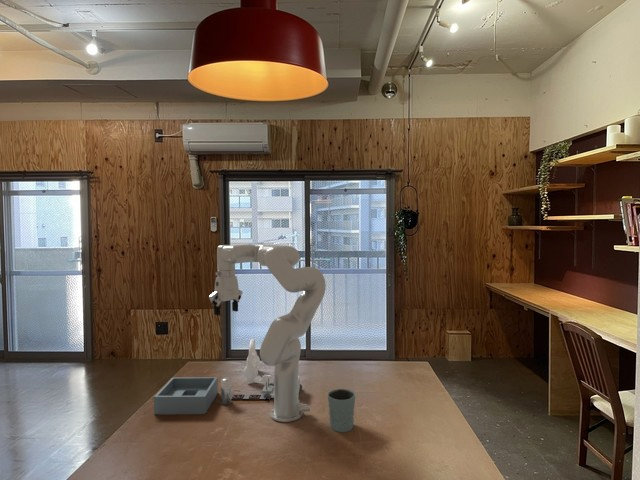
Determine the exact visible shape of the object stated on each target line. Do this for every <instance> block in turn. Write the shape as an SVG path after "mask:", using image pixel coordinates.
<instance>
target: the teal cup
mask: <svg viewBox="0 0 640 480" xmlns="http://www.w3.org/2000/svg"><path fill="white" fill-rule="evenodd" d="M327 399H328V408H329V410H328V412H329V413H328V414H329V427H330V429H331V430H333V431H335V432H337V433H347V432H351V431H352V430H353V428H354V422H355V420H354V419H355V418H354V415H355V413H354V412H355V404H356V403H355V402H356V393H355V392H354V391H352V390H351V389H345V388H337V389H332V390H329V392H328V393H327Z"/></svg>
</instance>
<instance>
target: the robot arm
mask: <svg viewBox="0 0 640 480" xmlns="http://www.w3.org/2000/svg"><path fill="white" fill-rule="evenodd" d="M216 248H217V249H216V265H217V266H216V269H217V270H216V271H215V276H217V277H215V282H214V292H212V293H211V294H210V295H209V296H208V299H209V300H210V301H209V302H210V303H211V304H212V306H213V314H214V315H215V316H218V317H219V316H221V306H220V305H221V303H222V302H227V301H229V302H230V301H232V303H231V304H232V305H231V307H232V309H231V310H232V312H236V313H237V312H239V302H240V300H241V298H242V295H243V293H244V292H243V290H240V289H239V282H238V277H237V276H236V264H242V263H244V264H245V263H259V265H260V266H262V267H266V268H267V269H268V270H269V272H270V273H271V275H272V276H273V277H274V278H275V279H276V280H277V282H278V283H279V285H280V286H281V287H282V288H283V289H284V290H285V291H287V292H289V293H295V294H296V293H300V292H301V293H300V295H299V296H298V297H297V299H296V301H295V302H294V305H293V307H292V309H291V310H290V312H289V313H287V314H283V315H281V316H278V317H276V318H275V319H274V320H273V321H272V322H271V324H270V325H269V328H268V330H267V332H266V334H265V336H264V337H263V340H262V342H261V345H260V348H259V358H260V361H261V362H262V363H263V364H264V365H266V366H268V367H270V366H271V367H274V369H273V384H274V398H273V400H274V401H273V403H274V404H273V405H274V406H273V408H272V409H271V410H270V412H269V415H270V418H271V419H272V420H274V421H276V422H279V423H281V422H282V423H290V422H295V421H297V420H299V419H300V418H301V417H302V416H303V412H311V406H310V405H308V403H304V404H303V403H300V401H301V400H300V399H299V396H300V393H299V392H300V390H299V384H298V376H300V375H299V367H300V365H299V364H300V356H301V350H302V349H301V348H302V345H301V341H300V338H301V337H302V336H304V335H305V334H306V333H307V331H308V329H309V327H310V325H311V323H312V320H314V317H315V314H316V313H317V310H318V309H319V307H320V305H321V303H322V301H323V299H324V297H325V293H326V289H327V287H326V286H327V285H326V280H325V276H324V274H323V273H322V272H321V270H320V269H319V268H317V267H314V266H303V267H297V268H296V267H295V268H294V266H296V265H297V264H298V263H299V260H300V253H299V251H298V250H297V249H296V248H295V247H294V246H291V245H276V244H275V245H274V244H239V245H238V244H236V245H231V244H222V245H218V246H217V247H216Z"/></svg>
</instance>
